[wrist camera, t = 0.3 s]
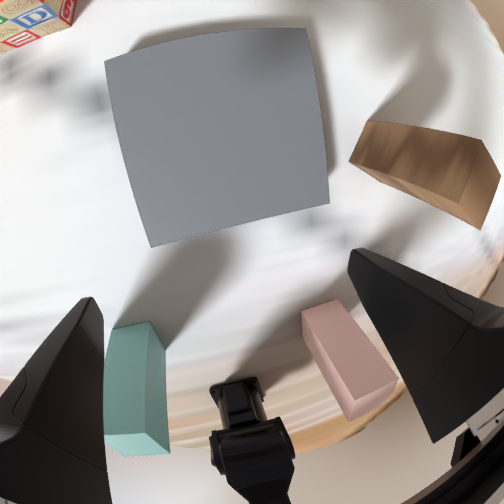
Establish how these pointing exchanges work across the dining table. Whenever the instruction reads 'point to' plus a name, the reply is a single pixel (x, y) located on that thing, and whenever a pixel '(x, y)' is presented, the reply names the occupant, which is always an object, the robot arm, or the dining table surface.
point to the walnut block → (431, 167)
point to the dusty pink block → (347, 359)
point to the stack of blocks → (32, 20)
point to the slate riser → (219, 130)
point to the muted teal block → (135, 392)
